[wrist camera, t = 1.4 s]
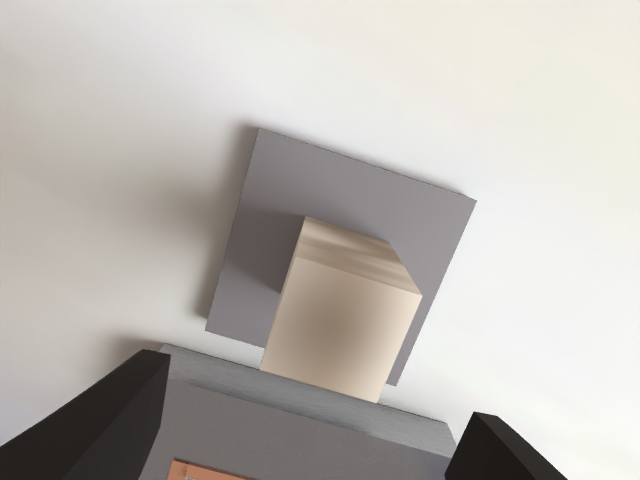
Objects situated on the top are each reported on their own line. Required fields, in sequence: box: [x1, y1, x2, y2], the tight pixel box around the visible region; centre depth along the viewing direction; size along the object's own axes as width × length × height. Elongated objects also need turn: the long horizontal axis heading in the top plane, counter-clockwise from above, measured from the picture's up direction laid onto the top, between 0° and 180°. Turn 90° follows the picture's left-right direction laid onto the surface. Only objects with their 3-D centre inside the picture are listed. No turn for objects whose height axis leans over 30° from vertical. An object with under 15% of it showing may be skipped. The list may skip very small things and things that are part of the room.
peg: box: [259, 216, 423, 403], centre depth 14 cm, size 4×4×6 cm
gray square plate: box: [205, 128, 477, 386], centre depth 18 cm, size 10×10×1 cm
